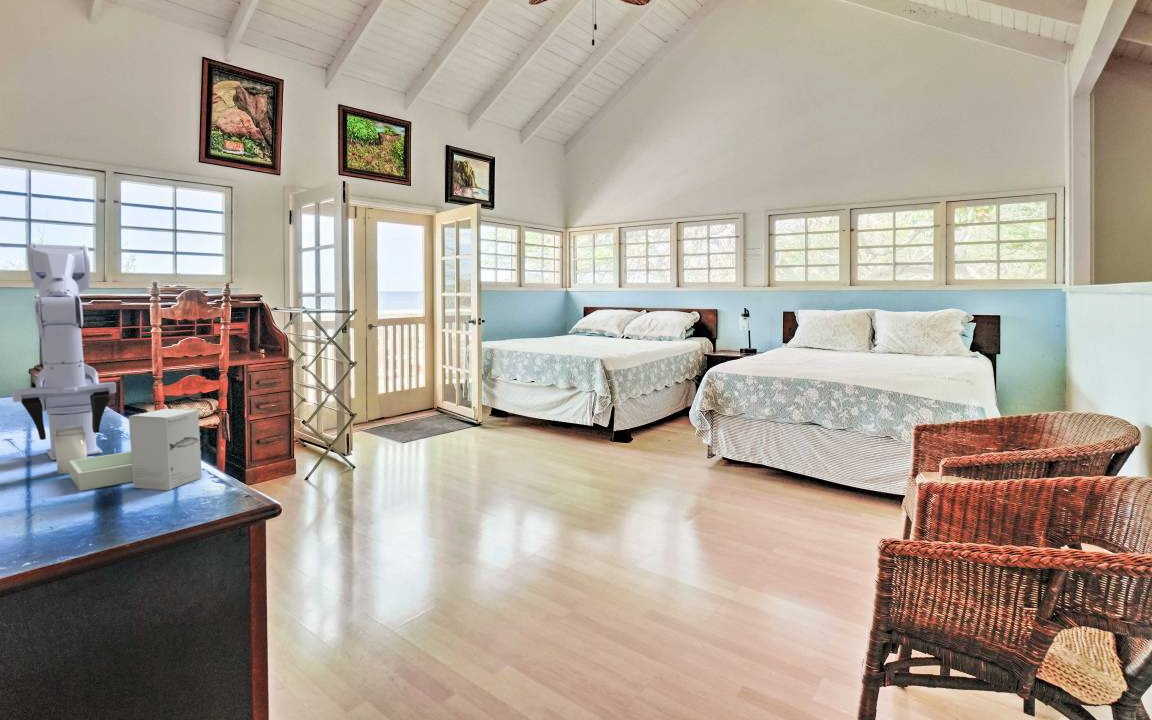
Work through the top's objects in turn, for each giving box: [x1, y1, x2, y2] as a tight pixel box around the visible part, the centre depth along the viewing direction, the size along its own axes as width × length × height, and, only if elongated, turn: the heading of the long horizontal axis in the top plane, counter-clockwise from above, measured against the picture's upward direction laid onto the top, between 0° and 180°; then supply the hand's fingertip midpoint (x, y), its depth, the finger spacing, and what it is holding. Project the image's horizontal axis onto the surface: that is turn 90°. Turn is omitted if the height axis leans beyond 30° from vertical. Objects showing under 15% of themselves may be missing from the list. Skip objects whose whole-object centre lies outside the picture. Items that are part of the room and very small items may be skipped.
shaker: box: [54, 426, 88, 475], centre depth 113 cm, size 4×4×8 cm
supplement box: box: [128, 408, 203, 491], centre depth 106 cm, size 7×7×13 cm
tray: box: [69, 451, 133, 492], centre depth 110 cm, size 11×11×3 cm
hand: (70, 435), depth 113 cm, fingers open, 7 cm apart
